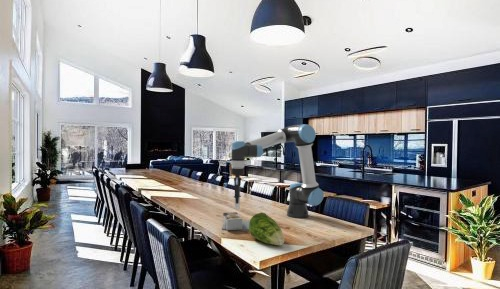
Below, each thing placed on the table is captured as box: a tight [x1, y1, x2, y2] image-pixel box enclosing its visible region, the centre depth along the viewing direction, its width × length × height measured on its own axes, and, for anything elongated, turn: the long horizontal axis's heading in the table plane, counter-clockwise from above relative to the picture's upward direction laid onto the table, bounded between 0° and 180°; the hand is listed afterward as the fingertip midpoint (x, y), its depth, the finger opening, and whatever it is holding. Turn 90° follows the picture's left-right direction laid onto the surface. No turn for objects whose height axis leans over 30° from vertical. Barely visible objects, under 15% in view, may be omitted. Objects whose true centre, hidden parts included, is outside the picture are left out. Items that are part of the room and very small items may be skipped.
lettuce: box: [248, 212, 285, 246], centre depth 157 cm, size 14×23×13 cm, turn 33°
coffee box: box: [222, 211, 243, 231], centre depth 182 cm, size 9×6×16 cm
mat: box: [221, 220, 250, 232], centre depth 185 cm, size 18×18×1 cm
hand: (237, 208), depth 174 cm, fingers closed
